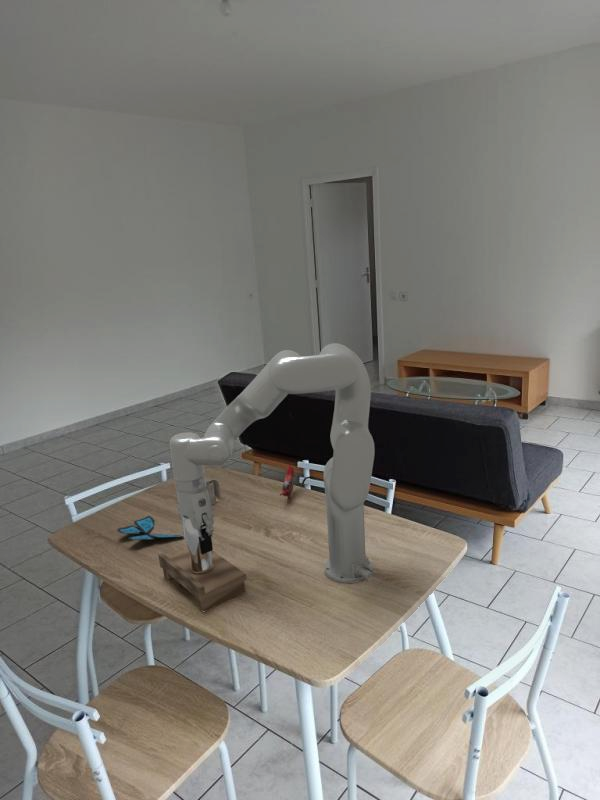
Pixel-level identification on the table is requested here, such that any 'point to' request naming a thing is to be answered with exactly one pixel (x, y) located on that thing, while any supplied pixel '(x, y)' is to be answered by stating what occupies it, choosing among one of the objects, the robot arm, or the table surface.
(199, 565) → the beer glass
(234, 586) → the display ledge
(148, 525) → the decorative butterfly
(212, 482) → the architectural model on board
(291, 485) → the decorative bird figurine
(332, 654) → the table surface
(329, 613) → the table surface
